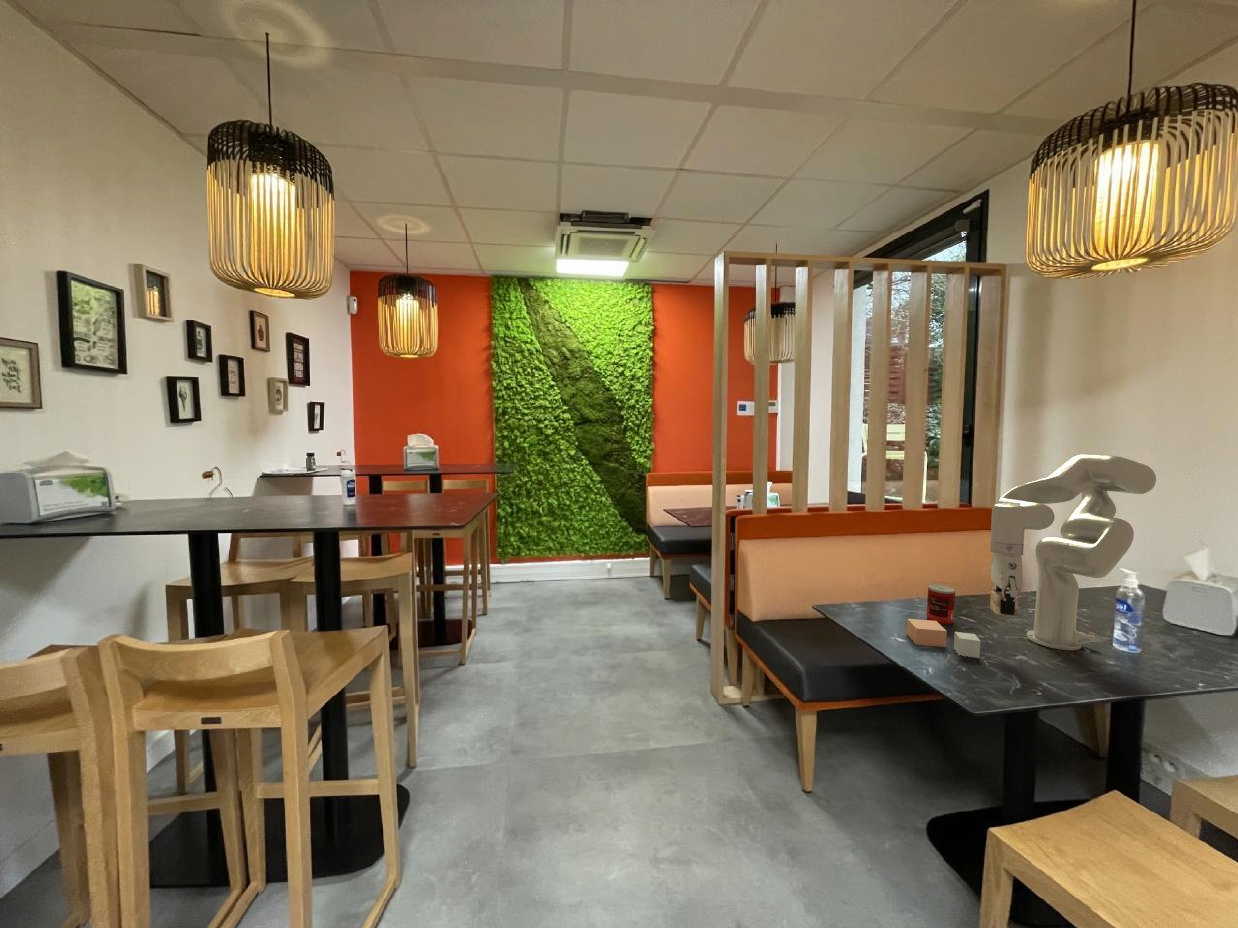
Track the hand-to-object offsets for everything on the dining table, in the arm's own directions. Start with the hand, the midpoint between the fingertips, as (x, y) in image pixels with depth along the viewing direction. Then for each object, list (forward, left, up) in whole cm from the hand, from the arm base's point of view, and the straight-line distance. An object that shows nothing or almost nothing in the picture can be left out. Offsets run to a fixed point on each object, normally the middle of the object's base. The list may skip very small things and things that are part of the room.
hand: (1003, 609), depth 150 cm
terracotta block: (+19, -2, -13) cm, 22 cm away
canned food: (+11, -22, -13) cm, 27 cm away
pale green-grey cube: (+10, +4, -12) cm, 16 cm away
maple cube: (0, 0, -1) cm, 1 cm away
